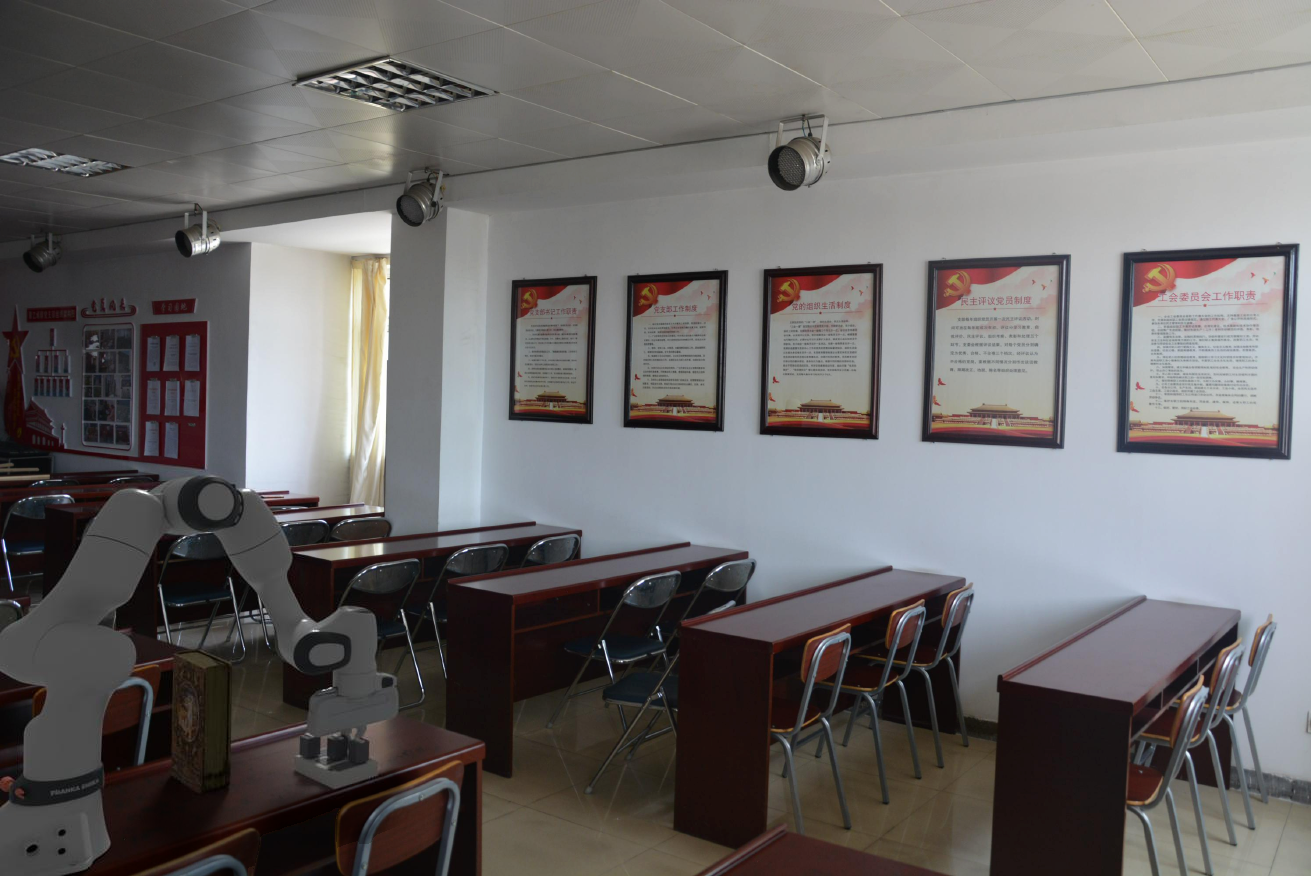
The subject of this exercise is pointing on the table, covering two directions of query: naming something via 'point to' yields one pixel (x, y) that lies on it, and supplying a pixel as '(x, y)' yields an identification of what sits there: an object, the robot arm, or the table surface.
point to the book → (201, 720)
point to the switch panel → (335, 769)
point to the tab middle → (337, 746)
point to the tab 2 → (358, 750)
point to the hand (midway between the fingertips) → (353, 747)
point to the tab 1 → (309, 745)
